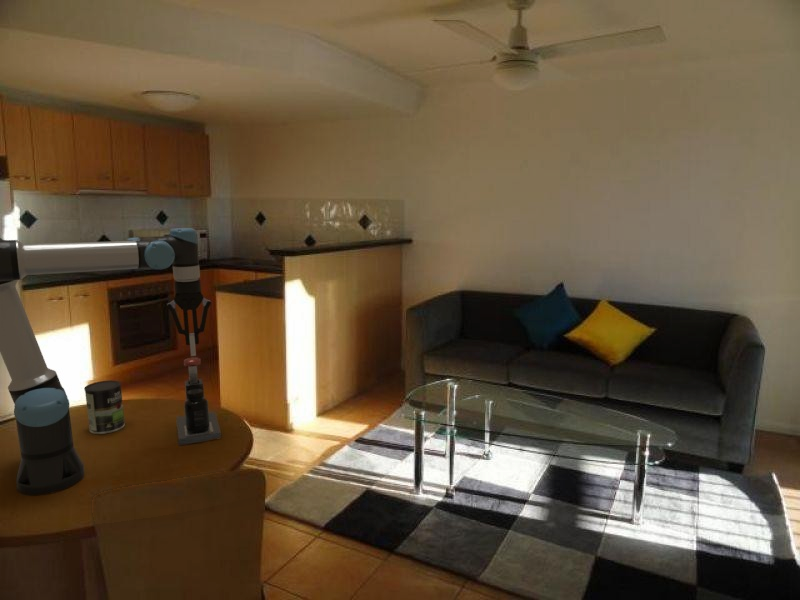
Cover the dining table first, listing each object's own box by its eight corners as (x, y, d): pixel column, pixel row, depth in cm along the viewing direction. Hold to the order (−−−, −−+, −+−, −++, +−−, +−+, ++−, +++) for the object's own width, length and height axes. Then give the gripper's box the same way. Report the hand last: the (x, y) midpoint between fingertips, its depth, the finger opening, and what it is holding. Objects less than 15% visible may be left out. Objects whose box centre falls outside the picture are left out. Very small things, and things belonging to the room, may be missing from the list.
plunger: (203, 398, 183) (201, 360, 180) (187, 400, 181) (184, 362, 179) (202, 393, 187) (199, 356, 185) (186, 395, 185) (183, 358, 183)
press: (221, 438, 175) (218, 395, 172) (179, 445, 170) (175, 400, 167) (215, 417, 191) (212, 377, 188) (176, 423, 186) (173, 381, 184)
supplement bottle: (212, 424, 180) (210, 387, 177) (205, 433, 173) (202, 395, 171) (191, 423, 180) (188, 387, 177) (182, 433, 173) (179, 395, 171)
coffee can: (132, 422, 187) (128, 381, 184) (110, 435, 177) (105, 392, 174) (104, 420, 189) (100, 379, 186) (81, 432, 179) (76, 389, 176)
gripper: (209, 276, 179) (214, 349, 184) (164, 279, 174) (170, 353, 179) (210, 279, 172) (216, 355, 177) (163, 282, 168) (170, 360, 172)
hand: (193, 354), depth 178 cm, fingers closed
